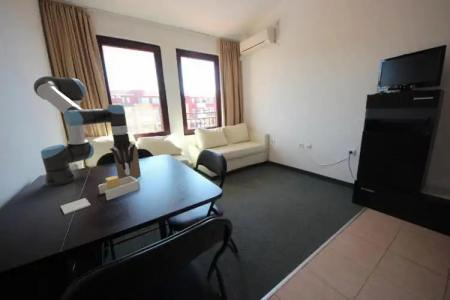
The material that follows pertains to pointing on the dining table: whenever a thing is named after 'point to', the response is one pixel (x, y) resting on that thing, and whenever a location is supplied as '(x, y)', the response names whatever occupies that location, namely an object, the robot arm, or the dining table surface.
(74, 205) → the tile
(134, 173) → the wooden block
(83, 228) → the dining table surface
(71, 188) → the dining table surface
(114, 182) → the block
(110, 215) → the dining table surface
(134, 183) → the white u-shaped frame
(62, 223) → the dining table surface
